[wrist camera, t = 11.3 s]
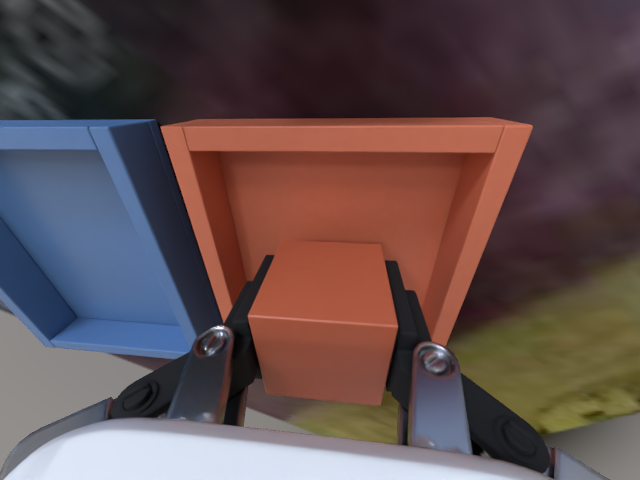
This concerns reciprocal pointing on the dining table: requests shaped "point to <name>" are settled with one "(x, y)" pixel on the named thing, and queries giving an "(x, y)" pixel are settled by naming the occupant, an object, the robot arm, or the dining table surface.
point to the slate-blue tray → (99, 239)
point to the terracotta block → (325, 322)
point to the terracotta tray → (348, 195)
